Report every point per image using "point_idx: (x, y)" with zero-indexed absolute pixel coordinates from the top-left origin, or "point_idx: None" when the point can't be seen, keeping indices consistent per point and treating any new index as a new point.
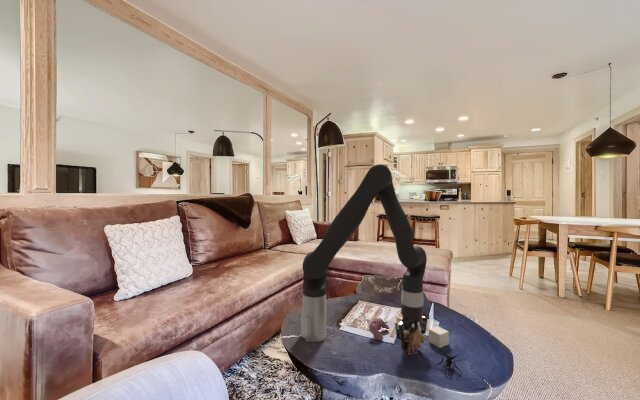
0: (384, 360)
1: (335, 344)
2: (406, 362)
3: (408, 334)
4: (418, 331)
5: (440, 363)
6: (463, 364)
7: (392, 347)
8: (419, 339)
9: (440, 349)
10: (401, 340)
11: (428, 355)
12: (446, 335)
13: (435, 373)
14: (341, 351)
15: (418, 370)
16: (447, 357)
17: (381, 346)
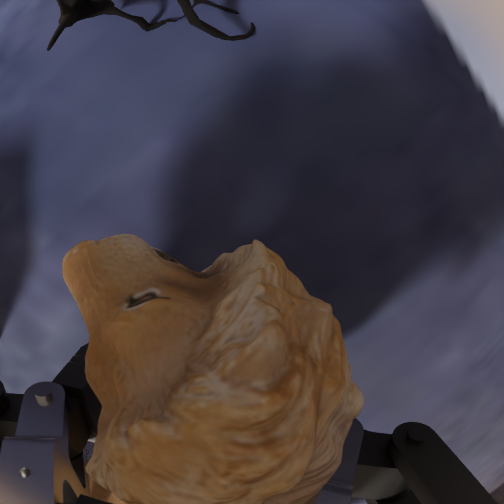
0: (474, 347)
1: None
2: (395, 249)
3: (349, 494)
4: (160, 499)
5: (190, 6)
6: (24, 10)
7: None
8: (278, 290)
9: (57, 34)
10: (432, 432)
11: (117, 212)
12: None
13: (309, 4)
14: (499, 458)
15: (403, 111)
16: (73, 12)
17: None
